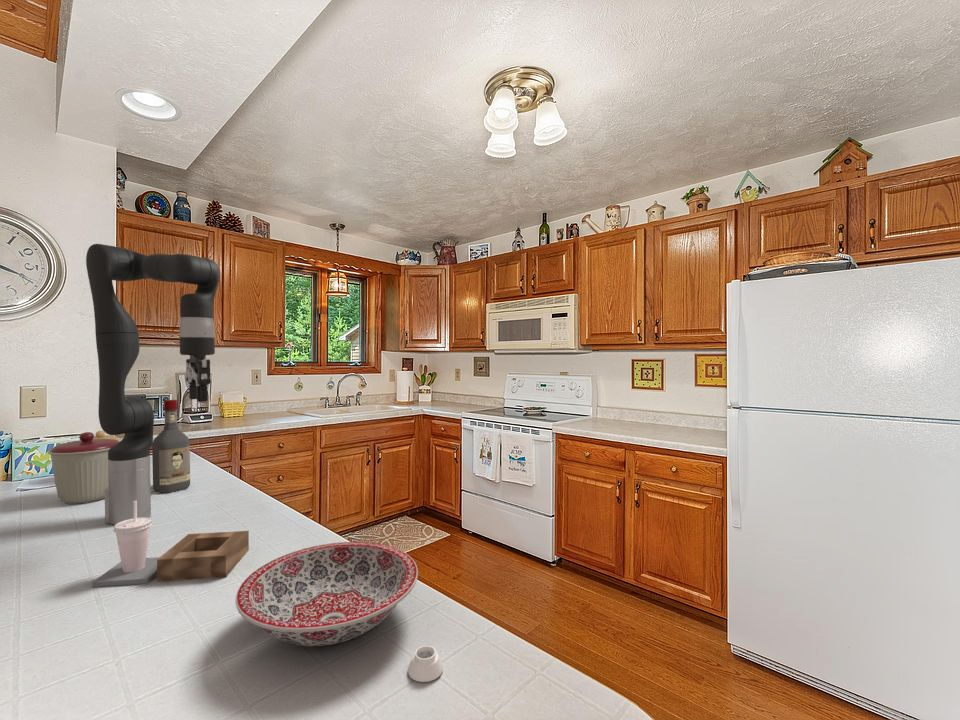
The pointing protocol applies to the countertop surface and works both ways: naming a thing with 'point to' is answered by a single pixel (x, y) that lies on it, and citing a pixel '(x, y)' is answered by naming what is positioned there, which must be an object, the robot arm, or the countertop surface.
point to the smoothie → (133, 541)
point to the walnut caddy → (203, 556)
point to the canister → (81, 468)
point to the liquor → (171, 454)
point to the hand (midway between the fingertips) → (198, 400)
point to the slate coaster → (128, 575)
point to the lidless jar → (425, 665)
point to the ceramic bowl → (326, 592)
